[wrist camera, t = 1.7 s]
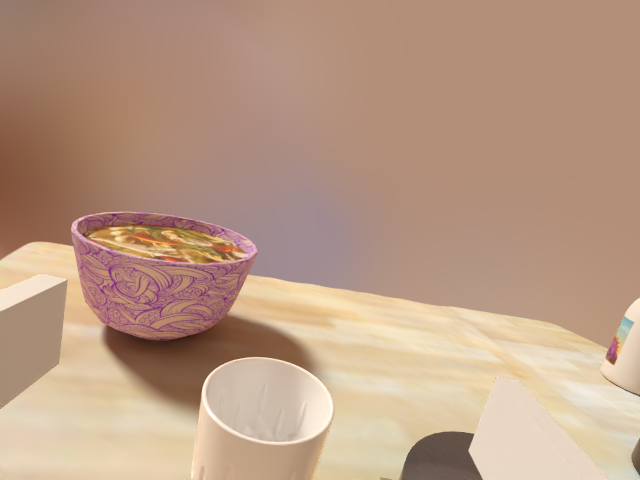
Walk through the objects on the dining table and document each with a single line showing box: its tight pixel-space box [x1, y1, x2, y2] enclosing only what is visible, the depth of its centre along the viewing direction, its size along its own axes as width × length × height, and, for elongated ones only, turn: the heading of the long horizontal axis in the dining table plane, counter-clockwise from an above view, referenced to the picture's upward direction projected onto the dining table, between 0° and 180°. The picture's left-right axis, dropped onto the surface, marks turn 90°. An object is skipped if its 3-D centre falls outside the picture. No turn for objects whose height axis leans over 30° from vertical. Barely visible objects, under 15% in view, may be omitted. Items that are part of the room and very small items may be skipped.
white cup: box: [191, 357, 334, 480], centre depth 23 cm, size 8×8×10 cm
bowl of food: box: [71, 212, 257, 341], centre depth 45 cm, size 20×20×12 cm
